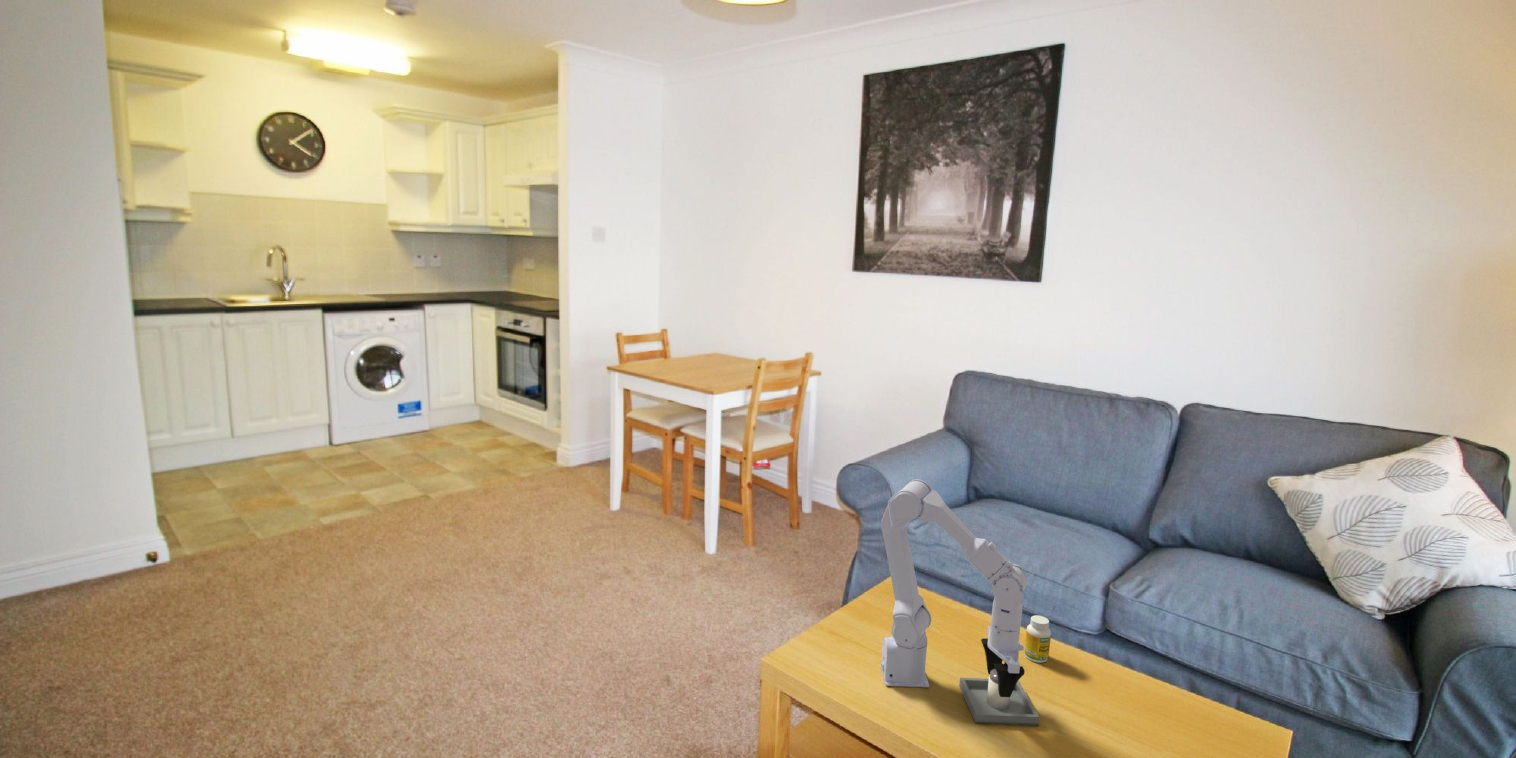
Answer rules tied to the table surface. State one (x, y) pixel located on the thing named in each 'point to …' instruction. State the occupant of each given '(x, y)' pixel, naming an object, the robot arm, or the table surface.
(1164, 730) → the table surface
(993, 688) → the cylinder
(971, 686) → the tray
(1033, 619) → the supplement bottle
